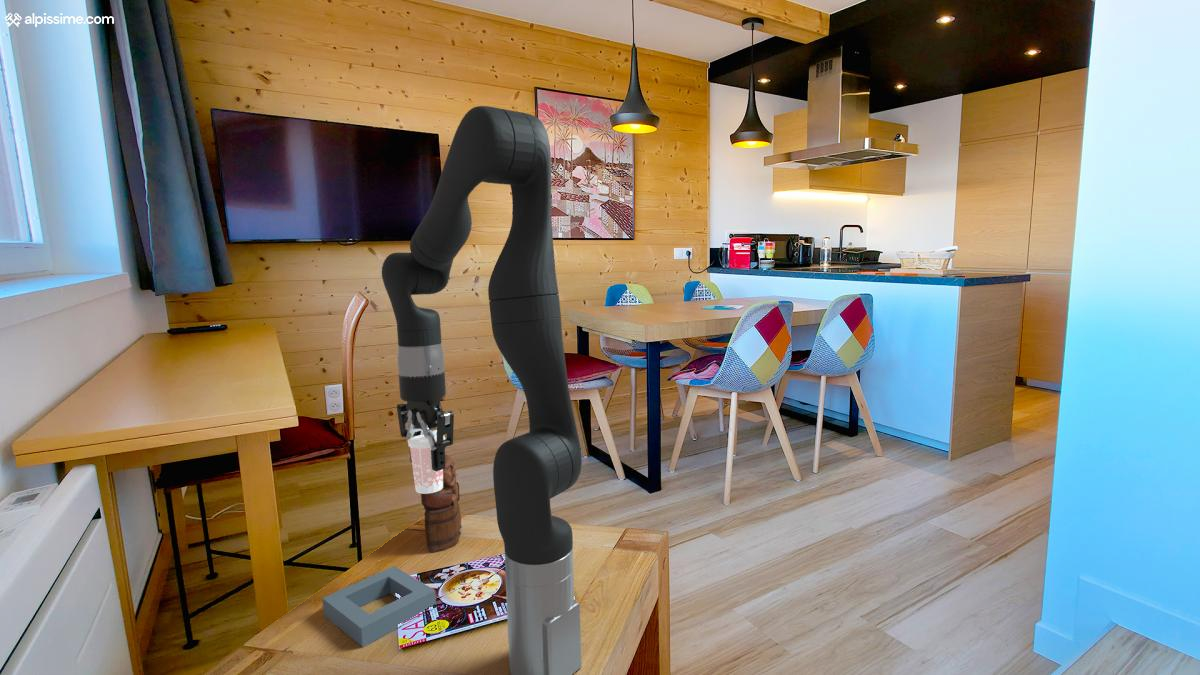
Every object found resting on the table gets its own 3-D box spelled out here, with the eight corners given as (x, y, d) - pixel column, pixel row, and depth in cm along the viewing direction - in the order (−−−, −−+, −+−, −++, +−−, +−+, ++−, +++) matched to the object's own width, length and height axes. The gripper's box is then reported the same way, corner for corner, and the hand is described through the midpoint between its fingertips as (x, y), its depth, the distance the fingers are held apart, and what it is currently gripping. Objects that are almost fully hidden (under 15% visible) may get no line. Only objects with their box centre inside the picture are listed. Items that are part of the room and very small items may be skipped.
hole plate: (436, 607, 93) (435, 590, 93) (362, 647, 84) (361, 628, 83) (395, 581, 101) (394, 565, 101) (323, 615, 92) (322, 598, 91)
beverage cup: (453, 482, 102) (448, 406, 100) (438, 496, 96) (433, 414, 94) (421, 481, 103) (416, 405, 101) (404, 494, 96) (398, 414, 95)
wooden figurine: (455, 552, 111) (450, 464, 109) (422, 554, 111) (416, 465, 109) (465, 525, 123) (461, 445, 121) (435, 527, 123) (431, 446, 121)
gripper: (465, 371, 95) (470, 468, 97) (417, 364, 104) (423, 452, 106) (426, 378, 89) (432, 481, 91) (379, 370, 98) (386, 463, 100)
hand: (427, 465), depth 99 cm, fingers closed on beverage cup, 6 cm apart
